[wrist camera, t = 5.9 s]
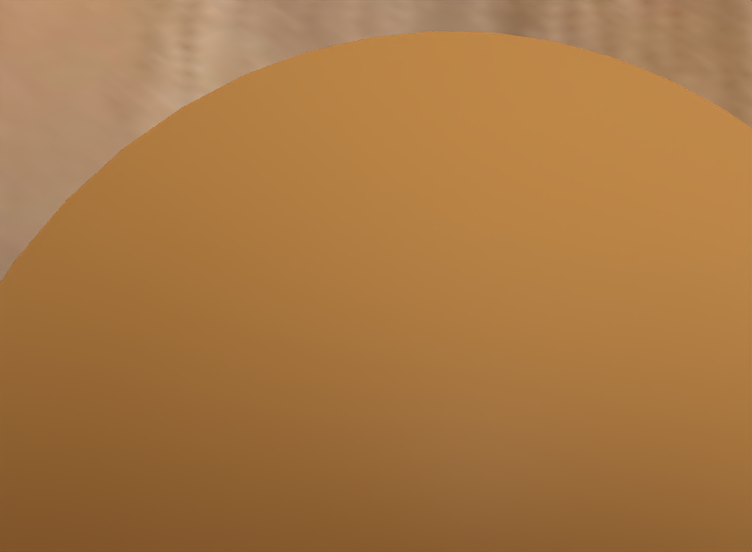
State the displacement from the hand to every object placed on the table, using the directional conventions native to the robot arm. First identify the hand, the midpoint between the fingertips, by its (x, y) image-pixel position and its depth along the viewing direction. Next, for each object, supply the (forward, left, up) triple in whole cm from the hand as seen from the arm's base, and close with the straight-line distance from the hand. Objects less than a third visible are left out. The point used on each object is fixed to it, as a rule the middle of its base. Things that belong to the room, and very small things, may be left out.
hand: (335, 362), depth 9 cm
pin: (-1, -1, -7) cm, 7 cm away
